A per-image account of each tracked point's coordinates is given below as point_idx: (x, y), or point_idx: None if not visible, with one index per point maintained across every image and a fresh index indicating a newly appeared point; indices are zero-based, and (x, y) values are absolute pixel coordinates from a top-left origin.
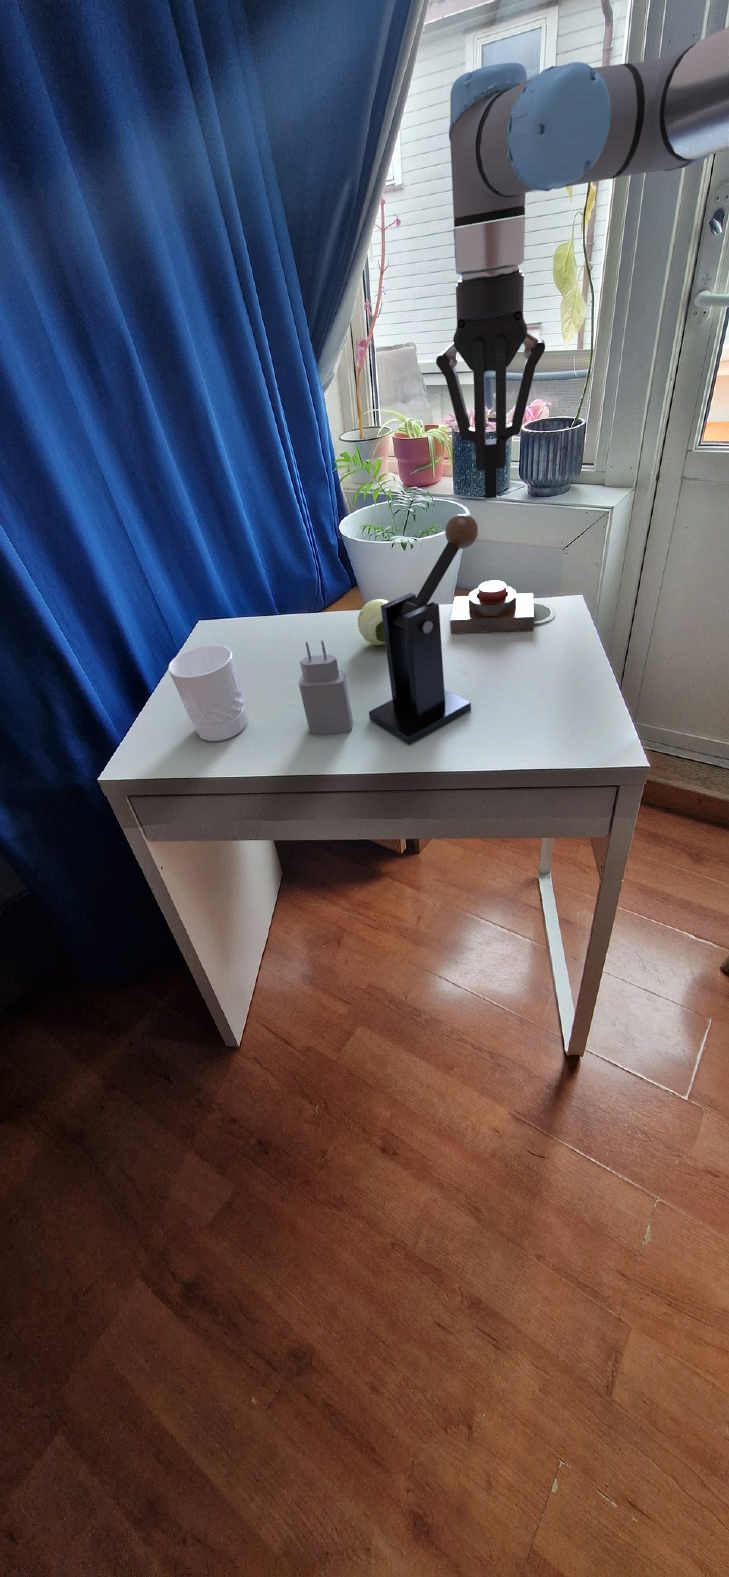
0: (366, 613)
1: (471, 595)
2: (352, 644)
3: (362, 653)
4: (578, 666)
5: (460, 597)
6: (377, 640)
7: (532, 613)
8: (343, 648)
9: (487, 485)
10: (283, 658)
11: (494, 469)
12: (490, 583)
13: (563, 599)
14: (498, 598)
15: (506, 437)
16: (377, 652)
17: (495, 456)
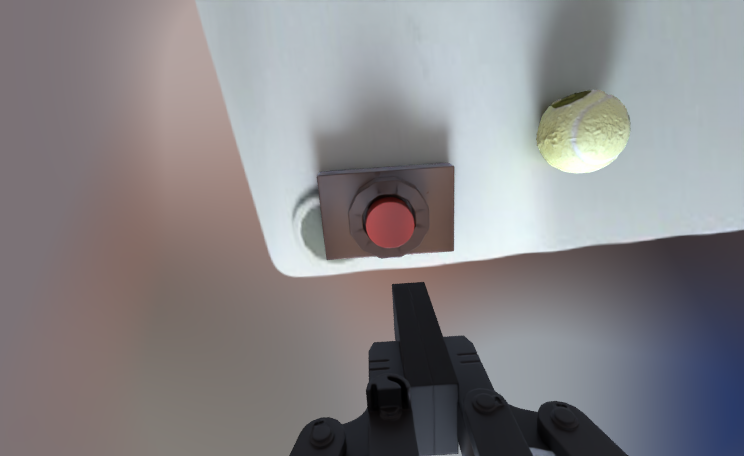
0: (620, 108)
1: (425, 219)
2: None
3: None
4: (238, 53)
5: (443, 248)
6: (576, 93)
7: (320, 187)
8: None
9: (422, 300)
10: (732, 73)
11: (405, 328)
12: (394, 237)
13: (286, 273)
14: (376, 202)
15: (366, 421)
16: None
17: (405, 355)
